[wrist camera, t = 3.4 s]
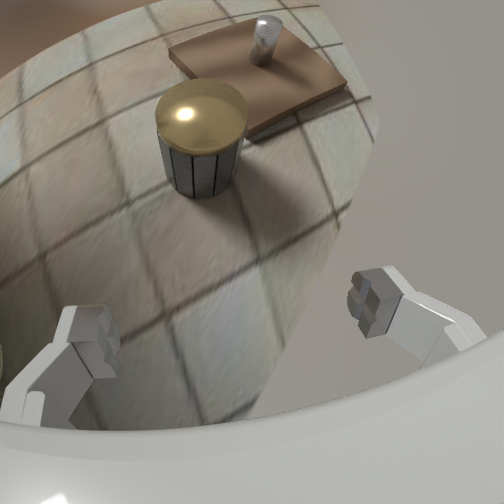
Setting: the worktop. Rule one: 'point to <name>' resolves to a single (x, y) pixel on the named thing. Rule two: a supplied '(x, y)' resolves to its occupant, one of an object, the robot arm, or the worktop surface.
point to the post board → (260, 72)
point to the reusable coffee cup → (1, 361)
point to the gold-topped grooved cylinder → (201, 135)
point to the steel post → (265, 40)
